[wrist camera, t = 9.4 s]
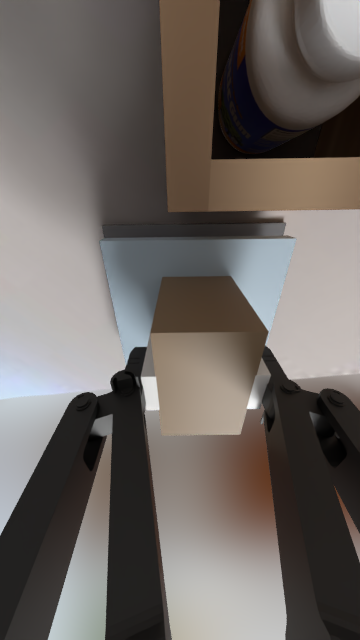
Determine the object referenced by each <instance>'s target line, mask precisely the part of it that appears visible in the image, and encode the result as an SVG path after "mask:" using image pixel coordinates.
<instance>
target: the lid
mask: <svg viewBox="0 0 360 640" xmlns="http://www.w3.org/2000/svg"><path fill="white" fill-rule="evenodd" d="M99 242H100V247H101V251H102V256H103V261H104V265H105V270H106V275H107V279H108V284H109V288H110V293H111V298H112V302H113V307H114V312H115V316H116V321H117V326H118V330H119V335H120V340H121V344H122V349H123V354H124V358H125V363H126V365H127V361H128V359H129V355H130V352H131V351H132V350H133V349H134V348H135V347H147V345H148V340H149V336H151V344H152V353H153V362H154V371H155V377H156V381H157V390H158V399H159V408H160V410H159V416H160V425H161V434H162V435H232V434H233V435H236V434H240V433H241V430H242V426H243V422H244V418H245V415H246V412H247V405H248V401H249V398H250V394H251V391H252V387H253V383H254V380H255V376H256V375H257V372H258V369H259V365H260V362H261V358H262V354H263V351H264V347H265V346H266V344H267V341H268V337H269V334H270V330H271V327H272V323H273V320H274V316H275V313H276V309H277V306H278V302H279V299H280V295H281V292H282V288H283V284H284V281H285V277H286V274H287V270H288V267H289V263H290V260H291V256H292V253H293V249H294V246H295V242H296V238H293V237H290V236H221V237H143V238H104V239H102V240H100V241H99ZM154 312H155V313H154ZM153 317H154V318H153ZM151 326H152V327H151ZM150 331H151V332H150Z"/></svg>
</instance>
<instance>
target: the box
mask: <svg viewBox="0 0 360 640" xmlns="http://www.w3.org/2000/svg"><path fill="white" fill-rule="evenodd" d="M159 6H160V31H161V56H162V80H163V105H164V130H165V155H166V180H167V205H168V212H207V211H274V210H341V209H360V96H359V97H358V98H357V99H356V100H355V101H354V102H353V103H351V104H350V105H349V106H348V107H347V108H346V109H344V110H343V111H342V112H340V113H339V114H337V115H336V116H334V117H332V118H331V119H329V120H327V121H325V122H324V123H323V124H322V128H321V131H320V135H319V139H318V143H317V146H316V150H315V154H314V157H313V158H283V159H218V160H211V152H212V134H213V116H214V98H215V80H216V62H217V44H218V25H219V7H220V0H159Z"/></svg>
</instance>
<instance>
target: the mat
mask: <svg viewBox="0 0 360 640" xmlns="http://www.w3.org/2000/svg"><path fill="white" fill-rule="evenodd" d="M285 226H286V223H225V224H157V225H103V226H102V228H103V233H104V238H143V237H221V236H283V234H284V230H285Z"/></svg>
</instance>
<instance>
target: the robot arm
mask: <svg viewBox="0 0 360 640" xmlns="http://www.w3.org/2000/svg"><path fill="white" fill-rule="evenodd" d="M154 313H155V312H154ZM153 318H154V317H153ZM151 327H152V326H151ZM150 332H151V331H150ZM110 383H111V387H112V390H113V391H112V392H110V393H108V394H104V395H101V396H98V397H96V395H95V394H93V393H90V392H86V393H82V394H80V395H78V396H76V397H75V398H74V399H73V400H72V401H71V402H70V403H69V405H68V407H67V409H66V411H65V413H64V415H63V417H62V419H61V420H60V423H59V424H58V426H57V428H56V430H55V432H54V434H53V436H52V438H51V440H50V442H49V444H48V445H47V447H46V450H45V451H44V453H43V455H42V457H41V459H40V461H39V463H38V465H37V466H36V468H35V470H34V472H33V474H32V476H31V478H30V480H29V482H28V484H27V485H26V488H25V489H24V491H23V493H22V495H21V497H20V499H19V501H18V503H17V505H16V507H15V508H14V510H13V512H12V514H11V516H10V518H9V520H8V522H7V524H6V526H5V527H4V529H3V531H2V533H1V535H0V640H48V636H49V633H50V629H51V626H52V622H53V619H54V615H55V612H56V609H57V605H58V602H59V599H60V595H61V592H62V588H63V585H64V582H65V578H66V574H67V571H68V567H69V564H70V561H71V558H72V554H73V551H74V547H75V544H76V540H77V537H78V534H79V530H80V526H81V523H82V520H83V516H84V513H85V509H86V506H87V503H88V499H89V496H90V492H91V489H92V485H93V482H94V479H95V475H96V472H97V468H98V465H99V462H100V458H101V455H102V451H103V448H104V444H105V441H106V437H107V435H109V434H112V454H111V485H110V515H109V545H108V576H107V606H106V634H105V640H172V638H171V631H170V625H169V617H168V608H167V601H166V592H165V583H164V574H163V566H162V557H161V549H160V540H159V531H158V523H157V514H156V506H155V497H154V489H153V480H152V471H151V463H150V455H149V446H148V437H147V429H146V420H145V414H144V412H145V406H146V409H147V410H160V408H159V399H158V390H157V381H156V377H155V371H154V362H153V353H152V344H151V336H149V340H148V345H147V347H135V348H134V349H133V350H132V351H131V352H130V355H129V359H128V361H127V365H126V368H125V370H122V371H119V372H117V373H116V374H114V376H113V377H112V378H111V381H110ZM261 404H263V406H264V408H265V410H264V413H263V416H262V418H261V424H263V422H264V426H265V434H266V443H267V450H268V451H267V452H268V460H269V469H270V476H271V485H272V493H273V502H274V511H275V519H276V528H277V535H278V545H279V553H280V562H281V570H282V579H283V587H284V595H285V604H286V614H287V625H286V634H285V635H286V640H360V562H359V559H358V556H357V553H356V550H355V547H354V544H353V541H352V539H351V536H350V532H349V529H348V526H347V523H346V521H345V518H344V515H343V512H342V508H341V506H340V503H339V500H338V497H337V494H336V491H335V488H336V490H337V492H338V494H339V495H340V497H341V499H342V501H343V503H344V505H345V507H346V509H347V511H348V512H349V514H350V516H351V518H352V520H353V521H354V524H355V525H356V527H357V529H358V531H359V533H360V411H359V410H358V409H357V407H356V406H355V405H354V404H353V403H352V402H351V400H350V399H349V398H348V397H347V396H345V395H344V394H342V393H341V392H339V391H336V390H334V389H323V390H322V391H321V392H320V394H318V393H313V392H309V391H305V390H302V389H301V388H300V386H298V385H297V384H296V383H295V382H293V381H291V380H289V379H288V378H287V376H286V375H285V373H284V371H283V370H282V368H281V366H280V365H279V363H278V361H277V360H276V358H275V357H274V355H273V353H272V352H271V350H270V349H269V348H268V347H266V346H265V347H264V351H263V354H262V358H261V362H260V365H259V369H258V372H257V375H256V376H255V380H254V383H253V387H252V391H251V394H250V398H249V401H248V405H247V409H260V407H261ZM333 484H334V485H333ZM334 486H335V488H334Z"/></svg>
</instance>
